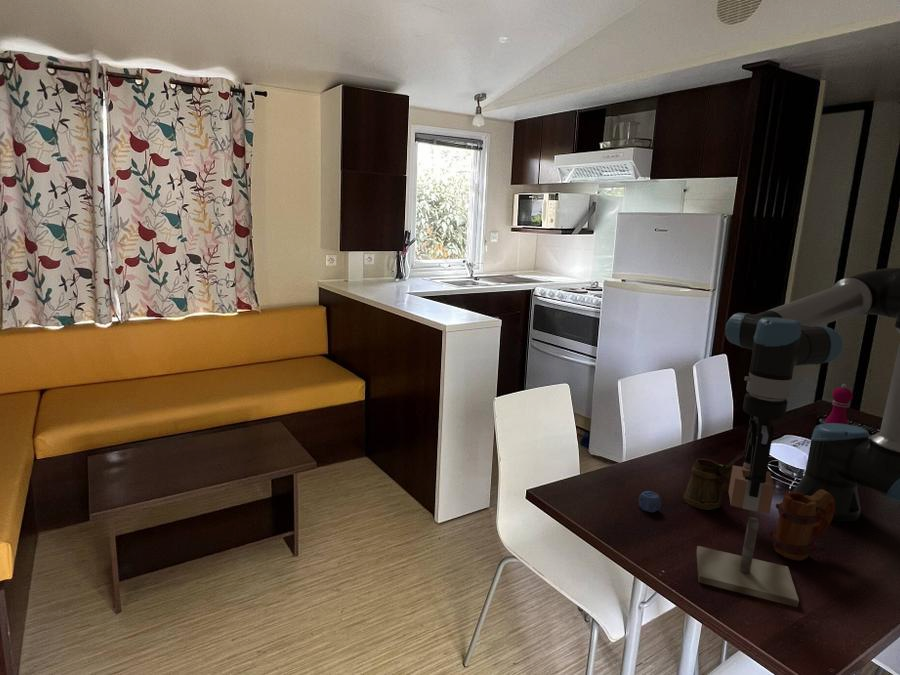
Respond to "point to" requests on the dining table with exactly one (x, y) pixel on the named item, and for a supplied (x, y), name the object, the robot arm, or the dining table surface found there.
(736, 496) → the bead
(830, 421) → the pepper mill
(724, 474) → the wooden mug
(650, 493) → the decorative dice
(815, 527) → the mug
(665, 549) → the dining table surface
